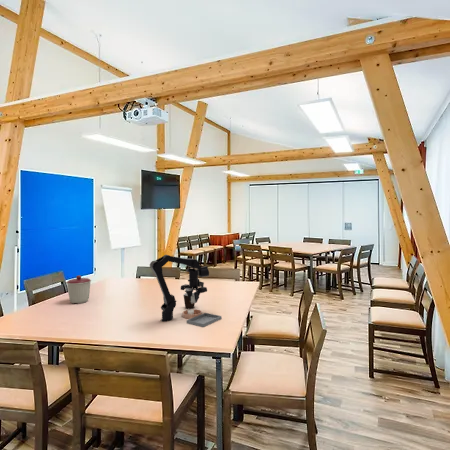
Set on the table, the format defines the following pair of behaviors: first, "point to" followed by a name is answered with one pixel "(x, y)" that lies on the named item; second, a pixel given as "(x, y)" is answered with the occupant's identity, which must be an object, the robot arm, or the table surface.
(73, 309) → the table surface
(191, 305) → the coffee mug
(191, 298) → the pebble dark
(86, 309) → the table surface
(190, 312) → the pebble light
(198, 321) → the parts tray
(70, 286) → the canister
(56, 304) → the table surface
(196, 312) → the terracotta dish
